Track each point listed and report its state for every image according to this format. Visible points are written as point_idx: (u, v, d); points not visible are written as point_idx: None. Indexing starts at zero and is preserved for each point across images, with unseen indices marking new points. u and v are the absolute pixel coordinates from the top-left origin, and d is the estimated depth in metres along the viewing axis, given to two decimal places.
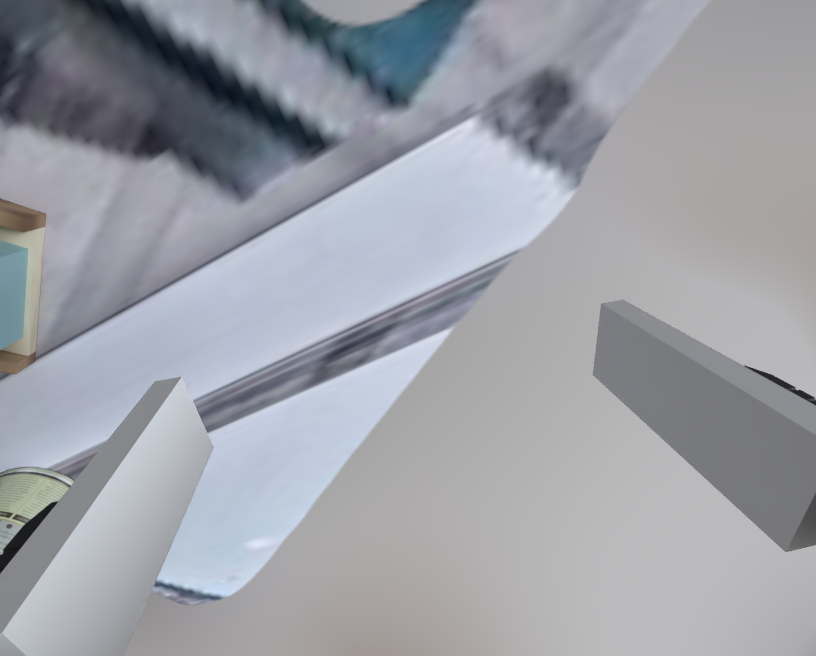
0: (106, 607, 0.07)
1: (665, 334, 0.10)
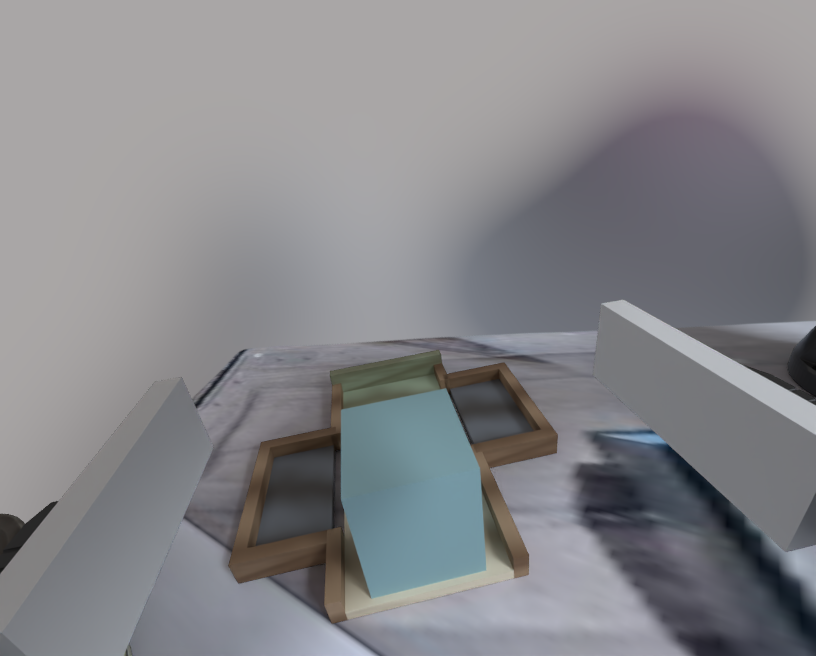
0: (106, 607, 0.07)
1: (665, 334, 0.10)
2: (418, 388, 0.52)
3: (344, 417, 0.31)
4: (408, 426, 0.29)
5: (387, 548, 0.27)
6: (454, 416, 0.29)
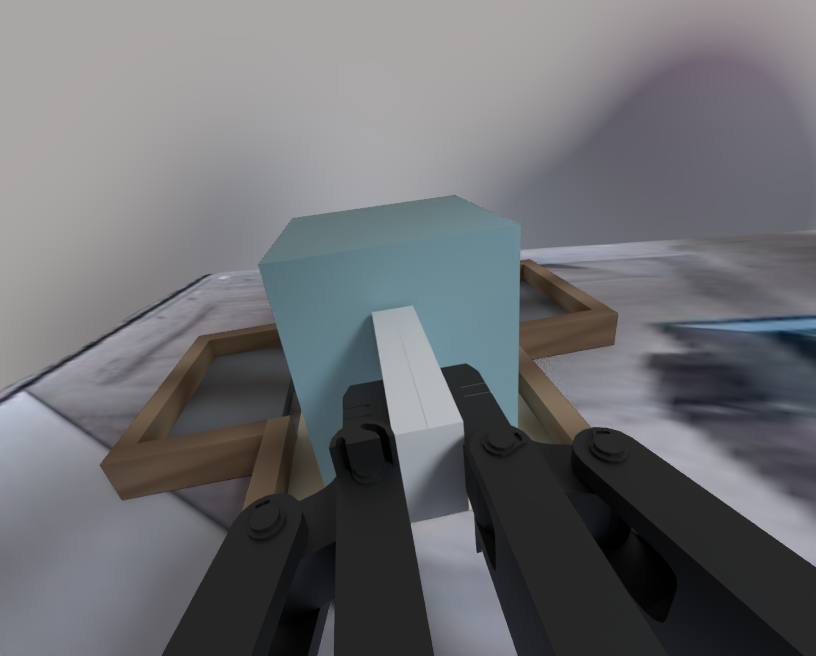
0: None
1: (411, 336, 0.12)
2: None
3: (295, 221, 0.20)
4: (393, 215, 0.18)
5: None
6: (469, 204, 0.18)
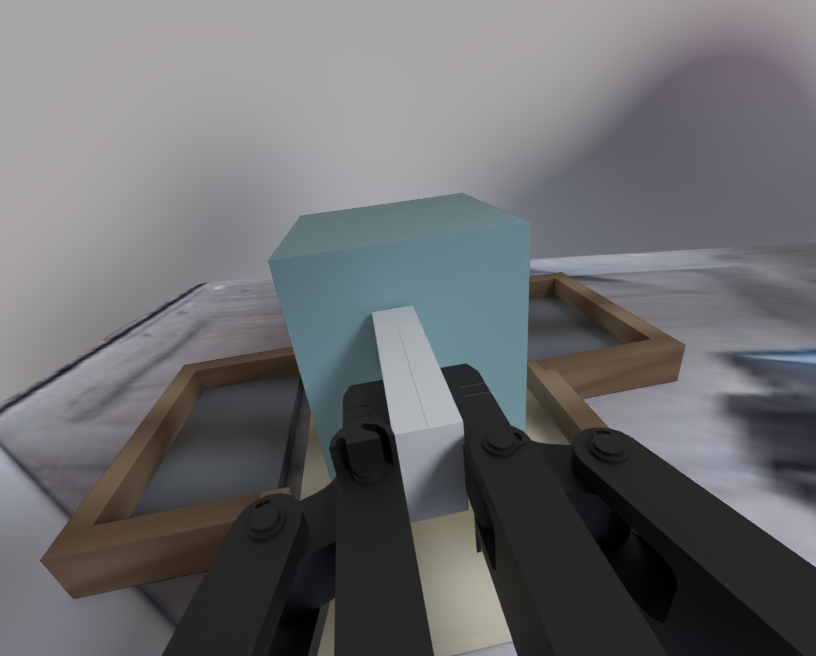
0: None
1: (411, 336, 0.12)
2: None
3: (303, 218, 0.20)
4: (401, 213, 0.18)
5: None
6: (477, 202, 0.18)
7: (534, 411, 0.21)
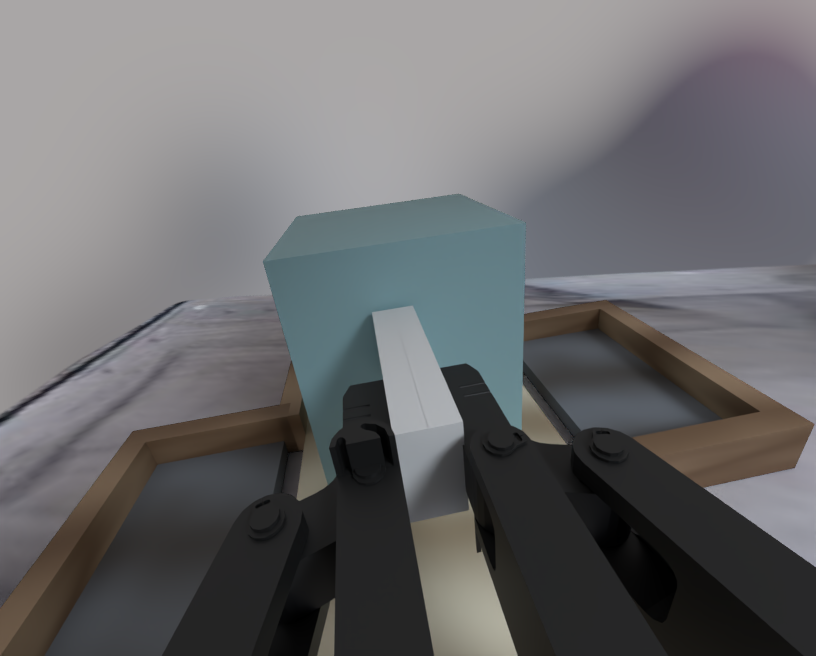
0: None
1: (410, 336, 0.12)
2: None
3: (299, 219, 0.20)
4: (397, 214, 0.18)
5: None
6: (474, 203, 0.18)
7: None
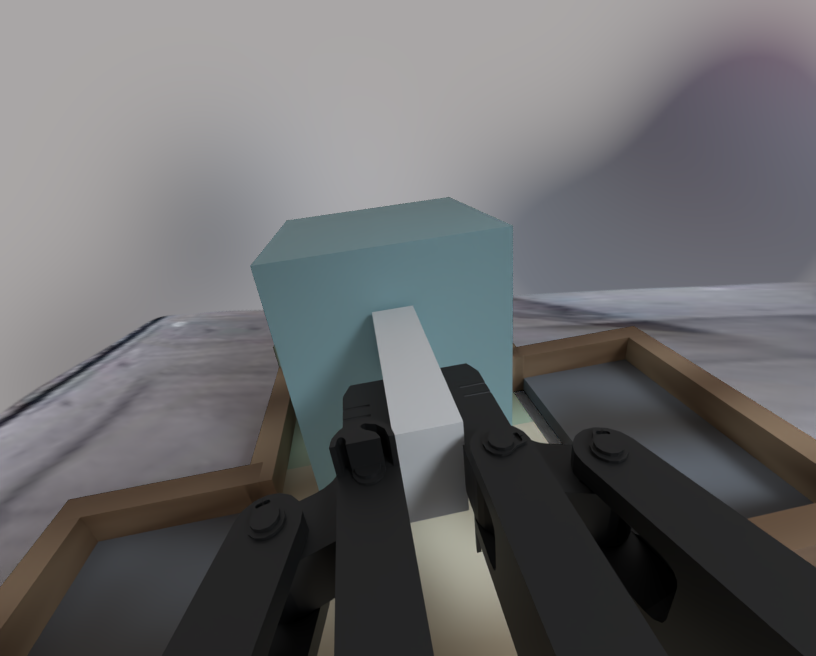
0: None
1: (410, 336, 0.12)
2: None
3: (289, 223, 0.20)
4: (387, 217, 0.18)
5: None
6: (463, 206, 0.18)
7: None
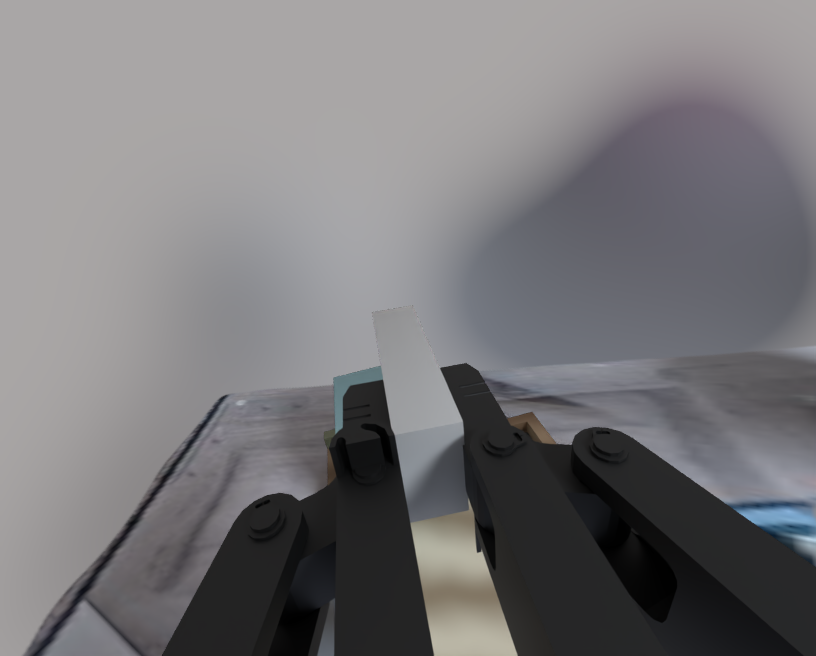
0: None
1: (411, 336, 0.12)
2: None
3: (336, 382, 0.38)
4: None
5: None
6: None
7: None
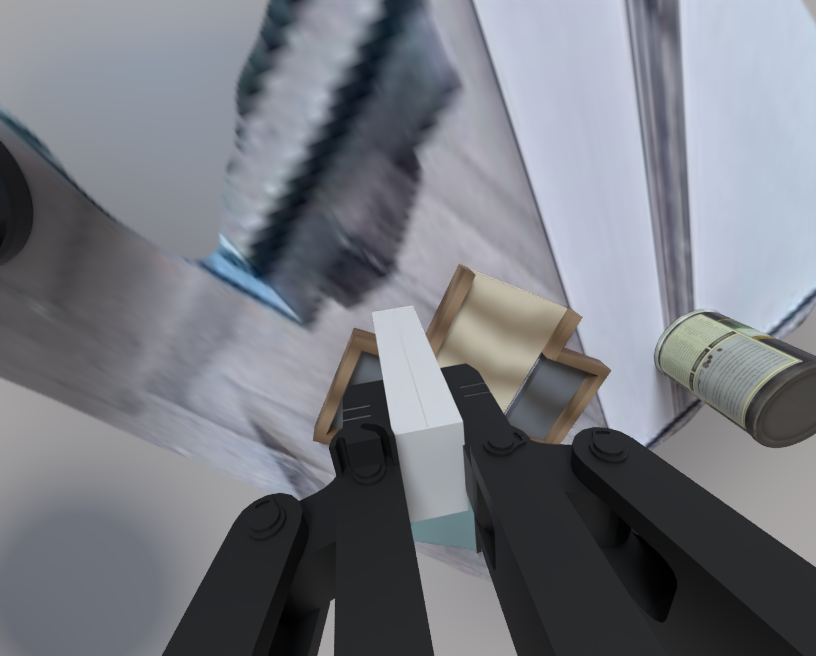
0: None
1: (410, 336, 0.12)
2: None
3: None
4: (450, 521, 0.41)
5: None
6: None
7: None
